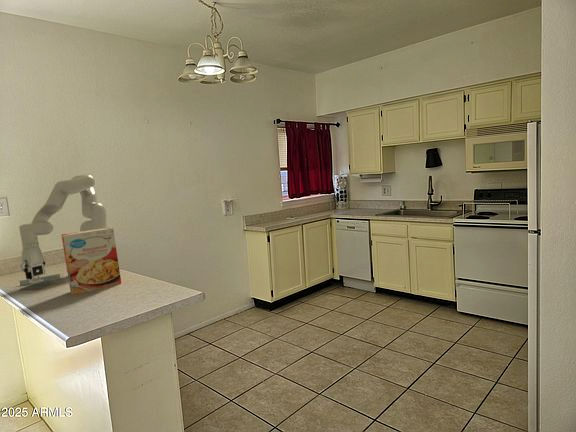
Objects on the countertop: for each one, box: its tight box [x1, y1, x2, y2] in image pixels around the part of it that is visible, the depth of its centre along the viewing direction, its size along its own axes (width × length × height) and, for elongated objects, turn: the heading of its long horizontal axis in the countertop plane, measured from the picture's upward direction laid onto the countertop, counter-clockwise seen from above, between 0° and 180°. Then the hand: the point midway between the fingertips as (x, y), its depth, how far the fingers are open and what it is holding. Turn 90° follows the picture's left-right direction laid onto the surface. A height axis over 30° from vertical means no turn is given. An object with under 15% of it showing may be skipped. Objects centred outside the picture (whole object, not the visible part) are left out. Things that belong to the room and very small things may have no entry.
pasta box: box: [61, 226, 122, 296], centre depth 200 cm, size 23×8×30 cm, turn 127°
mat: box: [18, 281, 56, 291], centre depth 216 cm, size 12×12×1 cm
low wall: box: [19, 273, 61, 287], centre depth 225 cm, size 20×1×3 cm, turn 114°
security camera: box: [29, 264, 46, 284], centre depth 216 cm, size 6×7×10 cm
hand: (35, 276), depth 216 cm, fingers closed on security camera, 8 cm apart
